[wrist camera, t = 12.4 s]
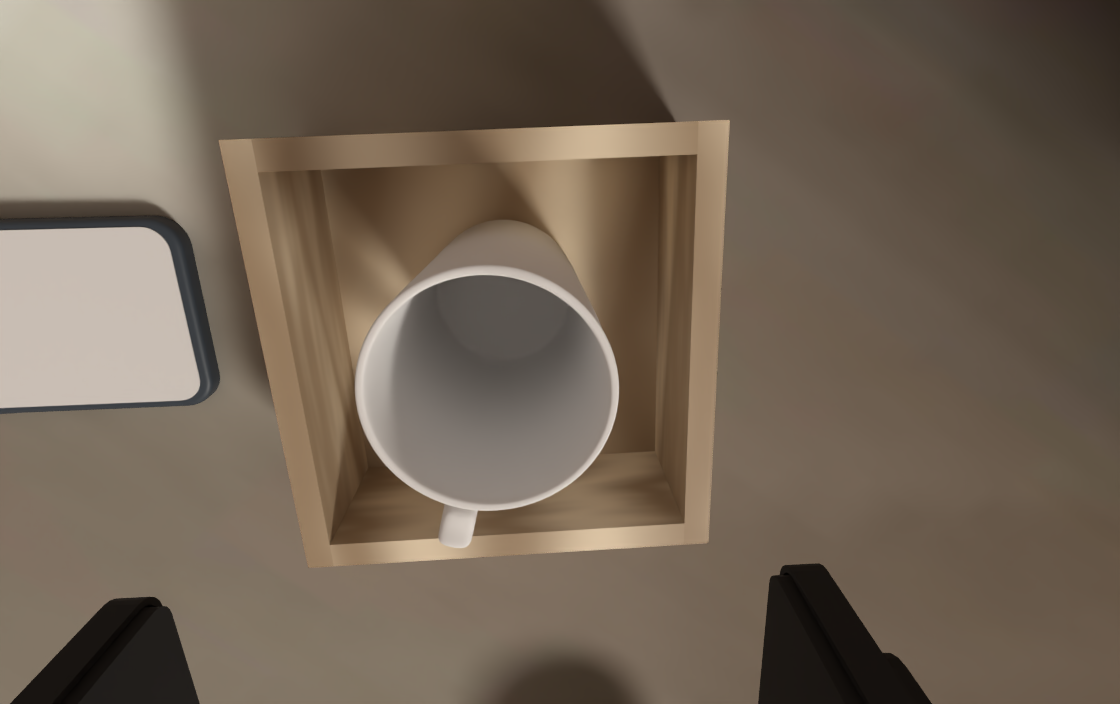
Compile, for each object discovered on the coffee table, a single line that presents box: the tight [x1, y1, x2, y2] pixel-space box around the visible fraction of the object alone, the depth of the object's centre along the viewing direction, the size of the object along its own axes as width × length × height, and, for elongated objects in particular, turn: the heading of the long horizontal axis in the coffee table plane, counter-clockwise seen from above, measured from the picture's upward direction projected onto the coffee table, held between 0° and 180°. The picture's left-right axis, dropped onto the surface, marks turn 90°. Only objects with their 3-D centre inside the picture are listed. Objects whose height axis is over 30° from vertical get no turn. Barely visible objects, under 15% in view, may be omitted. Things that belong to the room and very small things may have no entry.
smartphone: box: [0, 216, 220, 414], centre depth 27 cm, size 9×2×16 cm
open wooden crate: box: [218, 120, 730, 568], centre depth 25 cm, size 16×16×7 cm
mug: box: [355, 220, 619, 548], centre depth 22 cm, size 10×7×12 cm, turn 165°
